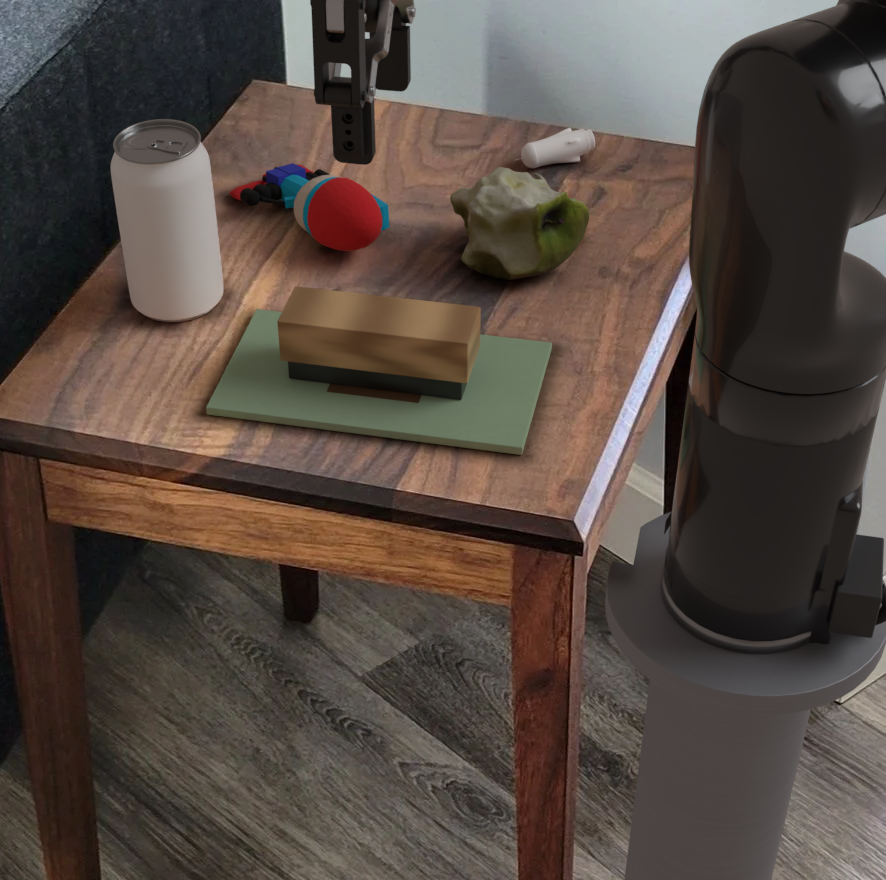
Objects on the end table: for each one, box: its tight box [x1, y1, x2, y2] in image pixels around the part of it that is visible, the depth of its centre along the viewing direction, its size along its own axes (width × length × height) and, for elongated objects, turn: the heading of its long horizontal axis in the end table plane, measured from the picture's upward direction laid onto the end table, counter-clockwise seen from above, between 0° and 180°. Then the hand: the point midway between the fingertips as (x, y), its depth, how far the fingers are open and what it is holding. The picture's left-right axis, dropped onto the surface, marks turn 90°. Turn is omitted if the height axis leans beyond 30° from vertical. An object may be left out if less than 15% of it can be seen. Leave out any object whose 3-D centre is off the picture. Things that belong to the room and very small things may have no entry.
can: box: [110, 118, 225, 323], centre depth 108 cm, size 6×6×12 cm
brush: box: [277, 285, 482, 400], centre depth 102 cm, size 12×4×4 cm, turn 75°
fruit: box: [449, 166, 590, 281], centre depth 112 cm, size 9×9×8 cm
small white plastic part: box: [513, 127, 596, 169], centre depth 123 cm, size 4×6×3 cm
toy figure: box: [228, 162, 390, 252], centre depth 117 cm, size 8×5×15 cm
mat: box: [205, 308, 553, 456], centre depth 104 cm, size 20×11×1 cm, turn 75°
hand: (373, 122), depth 92 cm, fingers open, 8 cm apart
